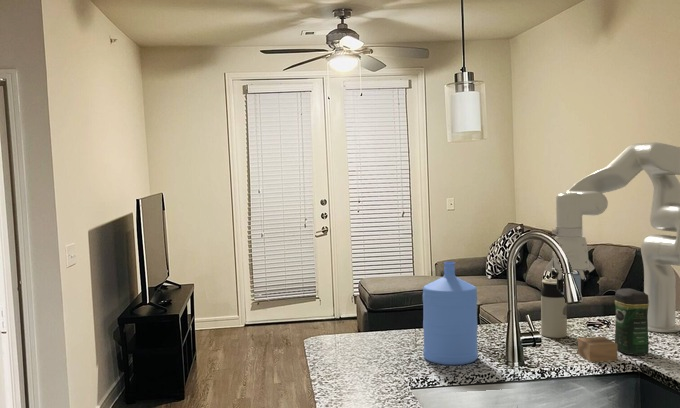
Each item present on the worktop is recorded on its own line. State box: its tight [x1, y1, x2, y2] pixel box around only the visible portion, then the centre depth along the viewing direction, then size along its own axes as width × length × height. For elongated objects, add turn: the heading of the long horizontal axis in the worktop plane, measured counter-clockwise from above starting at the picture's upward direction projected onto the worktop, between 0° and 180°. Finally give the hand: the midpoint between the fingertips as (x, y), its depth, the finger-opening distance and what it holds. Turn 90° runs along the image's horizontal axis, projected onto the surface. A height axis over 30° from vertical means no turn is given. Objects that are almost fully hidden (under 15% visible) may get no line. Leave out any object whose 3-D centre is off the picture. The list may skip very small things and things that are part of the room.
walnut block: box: [577, 336, 618, 363], centre depth 190 cm, size 8×8×5 cm
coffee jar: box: [614, 287, 650, 356], centre depth 195 cm, size 10×8×19 cm
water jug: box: [422, 261, 479, 366], centre depth 191 cm, size 16×16×28 cm
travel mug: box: [540, 278, 568, 339], centre depth 215 cm, size 8×8×18 cm
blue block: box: [562, 272, 582, 295], centre depth 203 cm, size 5×5×6 cm
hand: (570, 291), depth 204 cm, fingers closed on blue block, 5 cm apart
